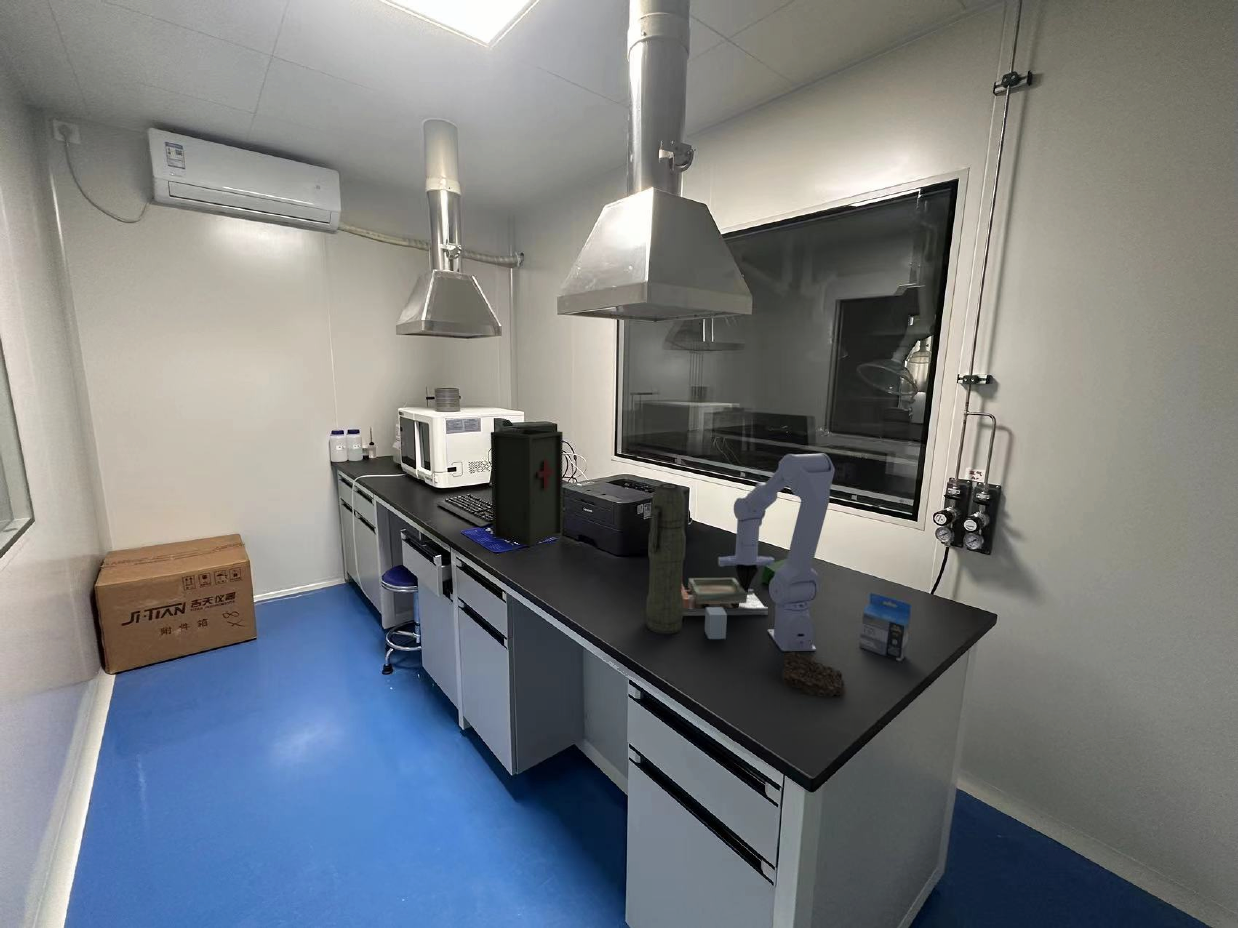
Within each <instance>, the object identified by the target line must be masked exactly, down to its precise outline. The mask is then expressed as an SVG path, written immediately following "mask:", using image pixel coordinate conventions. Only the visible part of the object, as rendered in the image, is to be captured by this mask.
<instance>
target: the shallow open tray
mask: <svg viewBox="0 0 1238 928" xmlns="http://www.w3.org/2000/svg"><path fill="white" fill-rule="evenodd" d="M687 580H688V582H687V583H688V585H687V587H688V590H690V591H691V593H692V595H693V597H694V599H695V601H696V603H697V604H701V606H702V608H706V607H709V604H717V603H731V606H732V607H733V608H734V607H739V603H747V593H746V592H745V591H744V589H743V588H742V587H741V586H740V582H738V580H737V579H736V578H735V577H688V579H687Z"/></svg>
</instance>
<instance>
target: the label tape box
mask: <svg viewBox="0 0 1238 928" xmlns="http://www.w3.org/2000/svg"><path fill="white" fill-rule="evenodd" d="M884 602H885V603H884ZM887 603H891V604H892V605H895V606H892V605H889V604H887ZM911 608H912V604H911V603H908V602H905V601H901V600H898V599H896V598H891V597H888V596H885V595H881V594H876V593H874V592H870V594H869V603H868V604H867V605H866V607H865V610H864V611H863V613H862V621H861V628H860V629H861V630H860V638H859V648H862V649H865V650H867V651H871V652H873V653H876V654H879V655H882V656H885V657H886V658H887V657H888V658H890V659H893V660H894V661H895V660H896V661H898V662H901V661H902V660H904V658H905V657H906V654H907V647H908V638H909V631H910V623H911Z"/></svg>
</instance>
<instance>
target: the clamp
mask: <svg viewBox="0 0 1238 928" xmlns="http://www.w3.org/2000/svg"><path fill="white" fill-rule="evenodd" d="M786 561H787V558H784V559H782V560H778V561H774V566H769V565H766V566H764V569H763V573H762V575H761V579H760V581H762V582H763V583H765V584H766V585H769V584H770V581H771V579H772V578H773V577H774V575H775V571H776V570H777V569H778V568H779V567H781V566H782V565H783V564H785V563H786Z"/></svg>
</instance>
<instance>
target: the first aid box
mask: <svg viewBox="0 0 1238 928" xmlns="http://www.w3.org/2000/svg"><path fill="white" fill-rule="evenodd" d="M563 435H564V434H563V431H560V430H559V431H557V430H545V429H533V428H518V429H516V428H515V429H509V430H497V431H491V432H490V455H491V456H490V461H491V462H490V463H491V466H490V468H491V470H490V471H491V472H490V473H491V508H492V509H491V511H492V513H491V514H492V517H491V519H492V520H491V521H492V538H493V537H496V538H498V539H504V540H507V541H510V542H516V543H518V544H521V545H520V546H522V545H527V546H530V547H529V548H532V547H531V546H532V545H535V546H537V545H536V544H538V543H539V542H543V541H545V540H546V539H550V538H552V537H556V536H558V535H559V534H561V531H562V532H563V494H562V495H561V491H562V492H563V439H564V438H563V437H564V436H563ZM558 537H559V536H558ZM556 538H557V537H556ZM510 542H509V543H510ZM543 543H544V542H543ZM518 544H517V545H518ZM538 545H539V544H538Z"/></svg>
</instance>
